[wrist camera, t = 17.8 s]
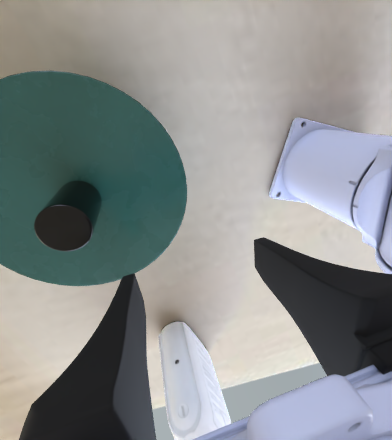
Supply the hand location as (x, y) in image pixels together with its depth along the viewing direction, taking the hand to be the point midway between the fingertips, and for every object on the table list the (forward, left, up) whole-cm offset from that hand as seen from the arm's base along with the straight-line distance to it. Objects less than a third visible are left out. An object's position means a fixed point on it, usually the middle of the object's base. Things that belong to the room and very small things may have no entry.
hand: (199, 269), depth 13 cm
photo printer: (-5, +20, -11) cm, 23 cm away
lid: (+7, -2, -5) cm, 9 cm away
